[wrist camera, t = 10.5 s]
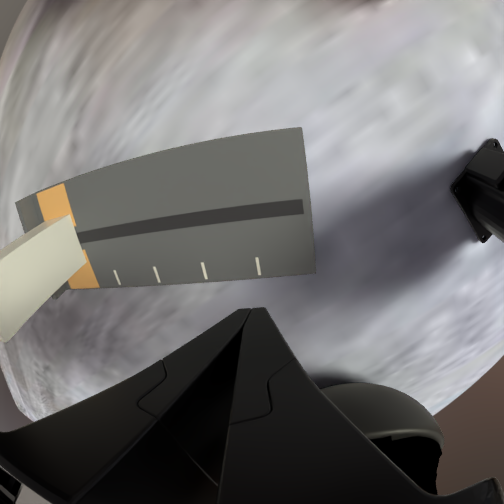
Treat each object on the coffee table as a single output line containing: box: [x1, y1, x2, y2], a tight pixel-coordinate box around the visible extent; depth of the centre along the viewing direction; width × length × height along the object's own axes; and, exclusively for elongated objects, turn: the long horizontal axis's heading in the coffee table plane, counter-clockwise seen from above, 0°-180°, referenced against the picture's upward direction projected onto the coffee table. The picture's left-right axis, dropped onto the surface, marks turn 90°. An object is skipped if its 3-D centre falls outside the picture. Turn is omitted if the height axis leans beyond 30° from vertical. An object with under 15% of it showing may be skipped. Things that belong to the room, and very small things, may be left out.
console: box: [15, 127, 316, 299], centre depth 20 cm, size 24×10×3 cm, turn 99°
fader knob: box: [0, 214, 87, 343], centre depth 16 cm, size 4×4×11 cm
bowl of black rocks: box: [320, 383, 444, 495], centre depth 20 cm, size 20×20×19 cm
